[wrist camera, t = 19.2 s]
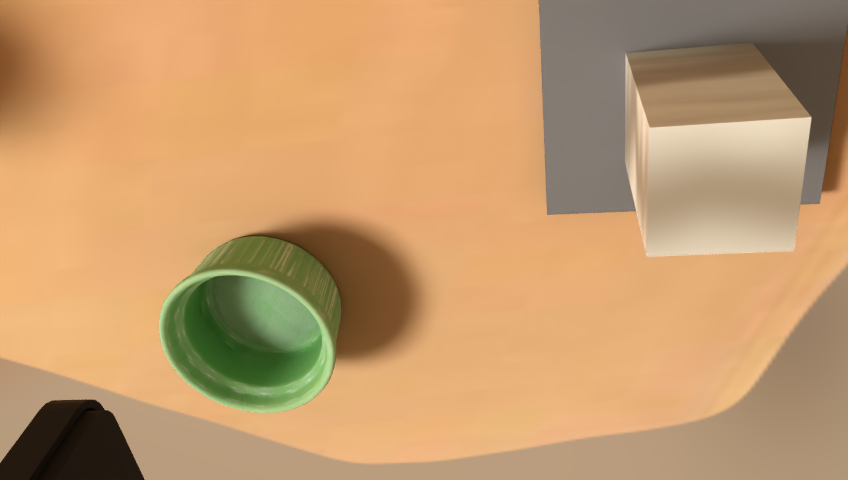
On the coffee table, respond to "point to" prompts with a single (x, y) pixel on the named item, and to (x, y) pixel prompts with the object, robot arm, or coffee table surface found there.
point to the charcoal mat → (661, 30)
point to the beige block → (713, 151)
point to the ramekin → (254, 325)
